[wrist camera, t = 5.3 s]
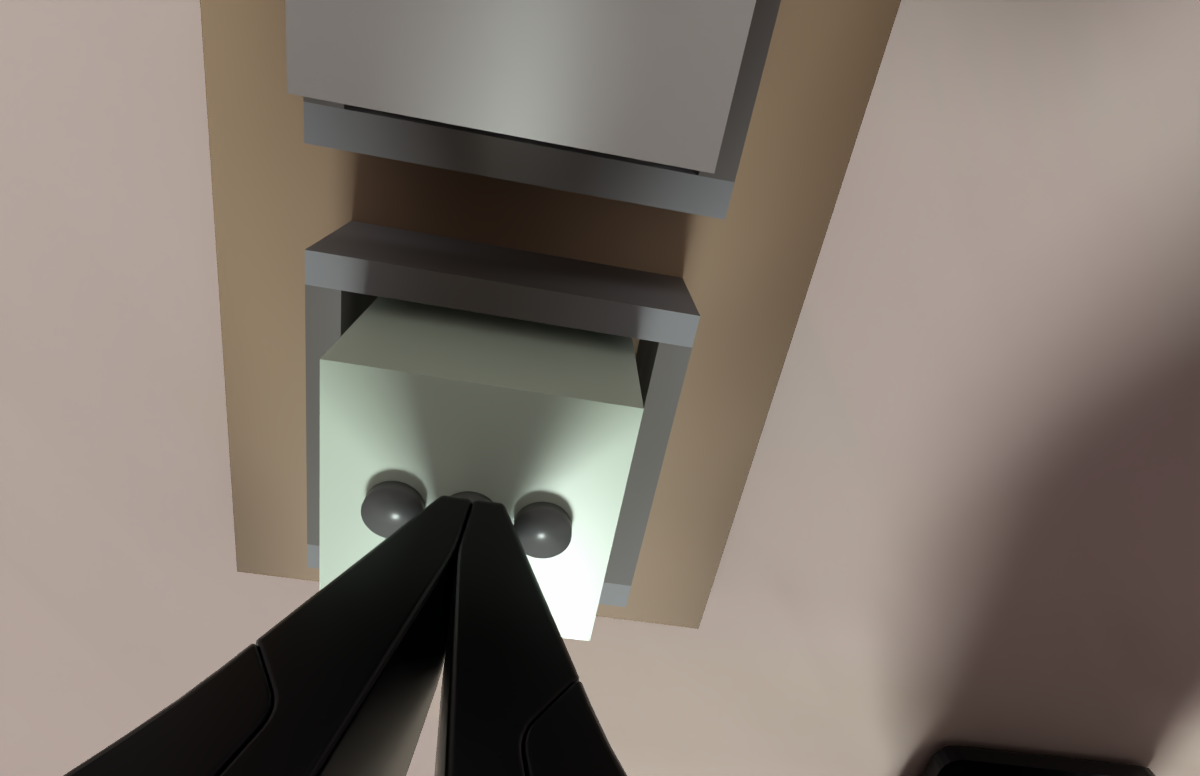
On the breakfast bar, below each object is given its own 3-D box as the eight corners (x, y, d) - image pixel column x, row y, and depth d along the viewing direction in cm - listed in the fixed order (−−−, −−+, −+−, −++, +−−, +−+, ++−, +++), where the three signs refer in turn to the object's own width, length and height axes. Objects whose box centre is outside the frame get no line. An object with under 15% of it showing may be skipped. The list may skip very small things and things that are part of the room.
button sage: (629, 326, 11) (645, 416, 8) (589, 520, 13) (589, 651, 10) (387, 287, 11) (313, 365, 8) (378, 492, 12) (314, 618, 10)
